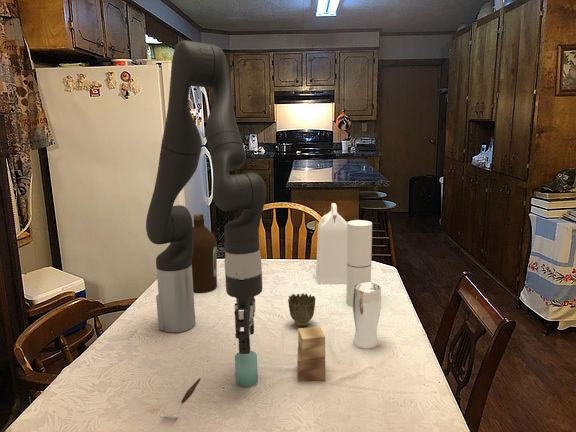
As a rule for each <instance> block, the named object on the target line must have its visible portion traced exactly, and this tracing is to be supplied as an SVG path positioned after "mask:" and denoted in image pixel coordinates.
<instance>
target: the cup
mask: <svg viewBox="0 0 576 432" xmlns="http://www.w3.org/2000/svg"><path fill="white" fill-rule="evenodd" d="M287 303H288V308H289V315H290V317H291V319H292V320H293V321H295V323H294V324H295V326H296V327H298V328H307V327H308V326H309V323H310V321H311V320H312V318H313V316H314V314H315V309H316V308H315V307H316V297H315V295H312V294H308V293H301V294H300V293H297V294H294V293H291V295H289V296H288V299H287Z"/></svg>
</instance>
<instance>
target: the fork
mask: <svg viewBox="0 0 576 432" xmlns="http://www.w3.org/2000/svg"><path fill="white" fill-rule="evenodd" d="M200 380H201V378H198V379H197V380H196V381H195V382H194V383H193V384H192V385H191V387H190V388H188V390H187V391H186V393H185V394H184V396H183V397H182V399H181V402H180V403H179V405H178V406H176V408H174V410H175V411H181V406H183V404H184V403H185V402H186V401H187V400H188V399H189V398H190V397H191V396H192V395H193V394H194V391H195V390H196V387H197V386H198V384H199V382H200ZM159 418H160V419H161V418H163V419H170V420H175V419H178V418H180V416H179V415H174V414H173V415H172V414H166V415H164V416H159Z"/></svg>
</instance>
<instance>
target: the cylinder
mask: <svg viewBox="0 0 576 432" xmlns="http://www.w3.org/2000/svg"><path fill="white" fill-rule="evenodd" d="M234 369H235V371H234V373H235V374H234V375H235V385H236V386H238V387H240V388H251V387H254V386H256V385H257V384H258V383H259V376H258V372H259V371H258V354H257V353H256V352H255V351H253V350H250V353H249V354H240V353H239V351H238V352H237V353H236V354H235V355H234Z"/></svg>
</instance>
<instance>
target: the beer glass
mask: <svg viewBox="0 0 576 432" xmlns="http://www.w3.org/2000/svg"><path fill="white" fill-rule="evenodd" d="M381 289H382V287H381V286H380V285H379V284H377V283H375V282H371V283H370V282H362V283H357V284H355V285H354V289H353V301H352V306H353V307H352V314H353V319H354V320H353V321H354V327H355V330H354V331H355V332H354V338H353V344H354V346H355V347H357V348H359V349H364V350H372V349H374V348H376V347H377V346H378V345H379V339H378V325H379V324H378V323H379V320H380V316H381V309H382V293H381V292H382V291H381Z"/></svg>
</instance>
